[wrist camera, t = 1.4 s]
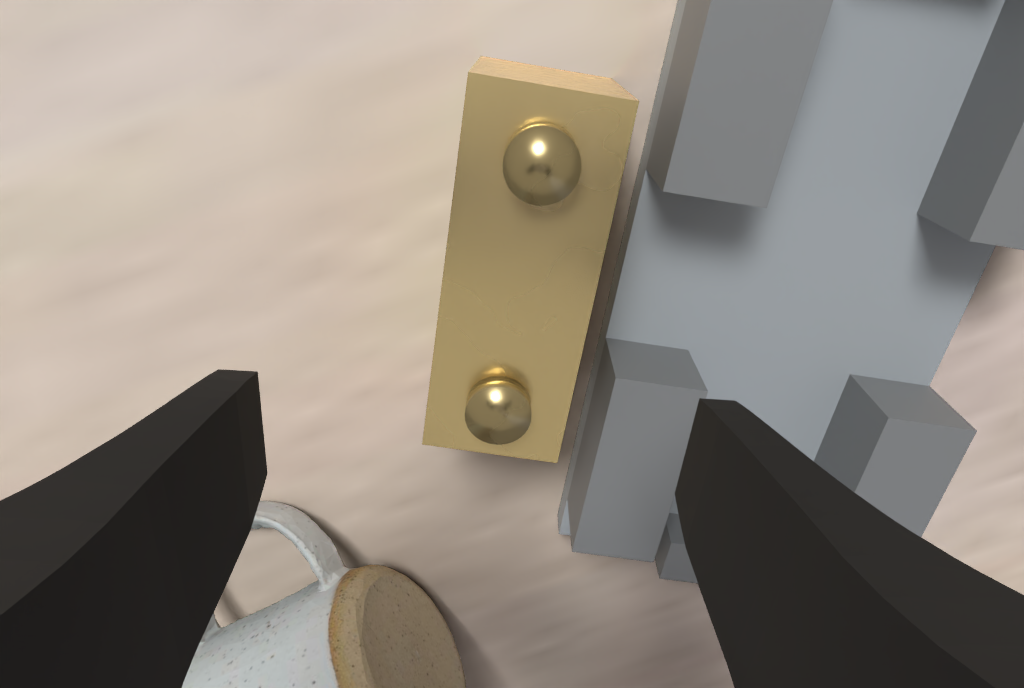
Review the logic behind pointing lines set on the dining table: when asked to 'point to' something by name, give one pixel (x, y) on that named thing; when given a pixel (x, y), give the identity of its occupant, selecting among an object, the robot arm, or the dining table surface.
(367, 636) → the ceramic mug
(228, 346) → the dining table surface
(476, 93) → the link
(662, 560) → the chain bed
